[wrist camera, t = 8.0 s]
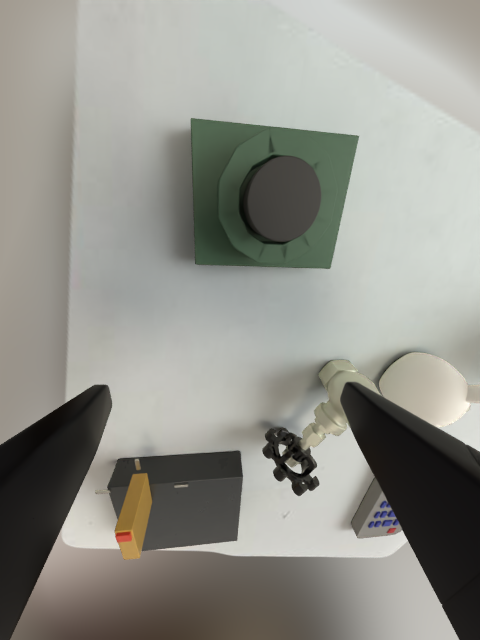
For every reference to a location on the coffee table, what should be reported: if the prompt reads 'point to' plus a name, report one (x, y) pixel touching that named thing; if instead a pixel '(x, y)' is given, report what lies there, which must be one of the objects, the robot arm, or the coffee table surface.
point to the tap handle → (134, 517)
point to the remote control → (375, 515)
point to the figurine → (428, 388)
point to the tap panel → (185, 497)
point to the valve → (314, 428)
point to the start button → (282, 199)
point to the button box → (233, 177)
